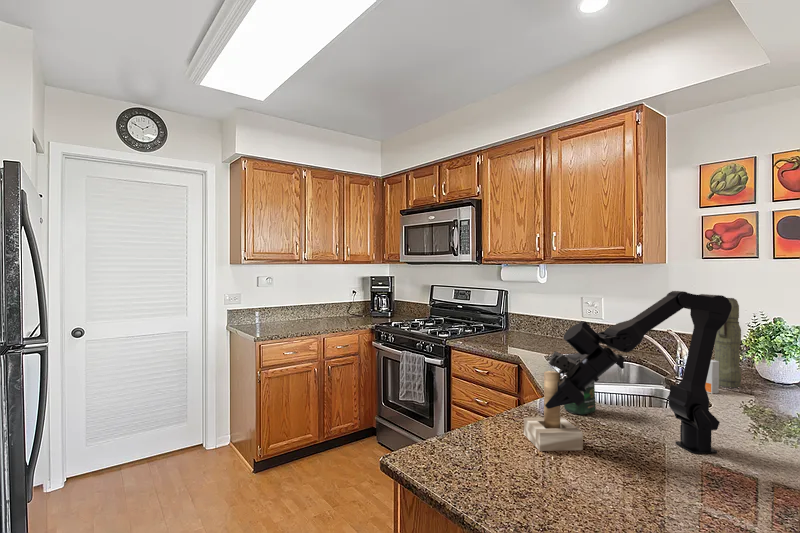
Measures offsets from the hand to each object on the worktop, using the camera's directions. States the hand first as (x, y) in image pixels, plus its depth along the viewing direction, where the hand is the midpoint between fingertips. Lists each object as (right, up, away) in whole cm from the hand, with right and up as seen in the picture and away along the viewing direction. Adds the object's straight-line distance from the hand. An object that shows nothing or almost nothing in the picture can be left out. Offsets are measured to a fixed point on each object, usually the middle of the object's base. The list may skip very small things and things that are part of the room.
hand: (546, 404), depth 112 cm
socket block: (+1, -10, -1) cm, 10 cm away
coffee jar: (+19, -10, +25) cm, 33 cm away
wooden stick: (+1, -8, -1) cm, 8 cm away
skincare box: (+78, -11, +49) cm, 93 cm away
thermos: (+92, -11, +58) cm, 110 cm away
